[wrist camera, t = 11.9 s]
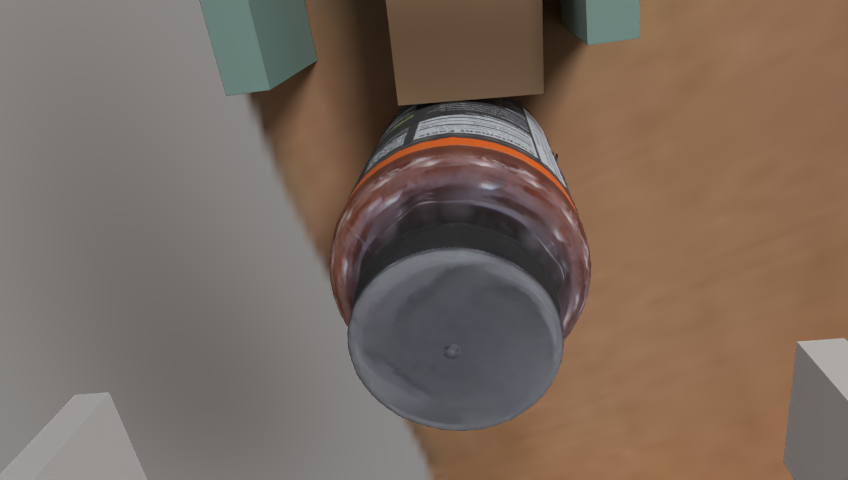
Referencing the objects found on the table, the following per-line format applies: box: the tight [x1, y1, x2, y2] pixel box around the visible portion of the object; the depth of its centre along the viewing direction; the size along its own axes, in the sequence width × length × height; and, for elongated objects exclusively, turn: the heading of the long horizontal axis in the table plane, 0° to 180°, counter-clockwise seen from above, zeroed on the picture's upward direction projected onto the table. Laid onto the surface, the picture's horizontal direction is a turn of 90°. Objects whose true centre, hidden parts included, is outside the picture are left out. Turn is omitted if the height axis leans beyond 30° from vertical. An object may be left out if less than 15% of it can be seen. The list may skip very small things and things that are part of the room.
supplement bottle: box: [329, 96, 591, 431], centre depth 16 cm, size 6×6×11 cm
